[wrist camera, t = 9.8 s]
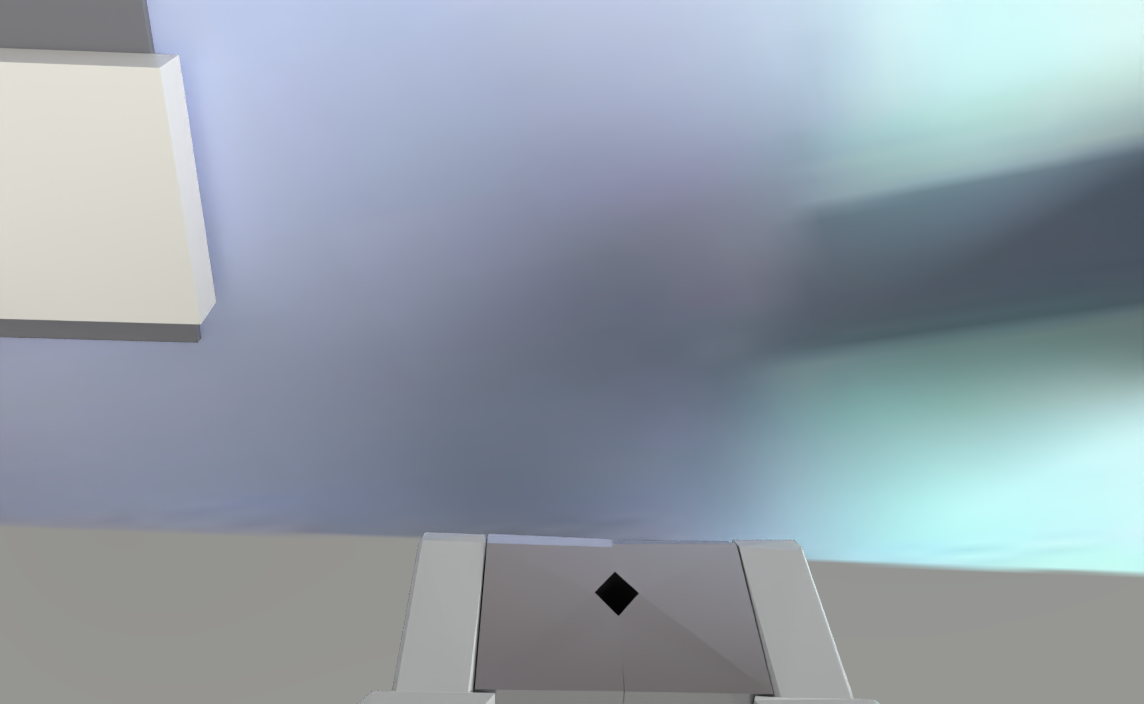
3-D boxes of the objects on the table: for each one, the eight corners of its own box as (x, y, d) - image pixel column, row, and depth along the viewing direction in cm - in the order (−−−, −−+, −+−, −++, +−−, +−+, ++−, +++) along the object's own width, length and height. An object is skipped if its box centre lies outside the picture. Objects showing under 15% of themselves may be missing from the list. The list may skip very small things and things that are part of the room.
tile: (159, 68, 34) (-138, 56, 34) (201, 324, 39) (-58, 316, 39) (179, 54, 36) (-102, 43, 36) (216, 300, 41) (-31, 293, 40)
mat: (144, -7, 35) (140, -5, 35) (200, 338, 42) (198, 342, 42) (-201, -21, 35) (-208, -19, 34) (-87, 329, 42) (-93, 334, 41)
